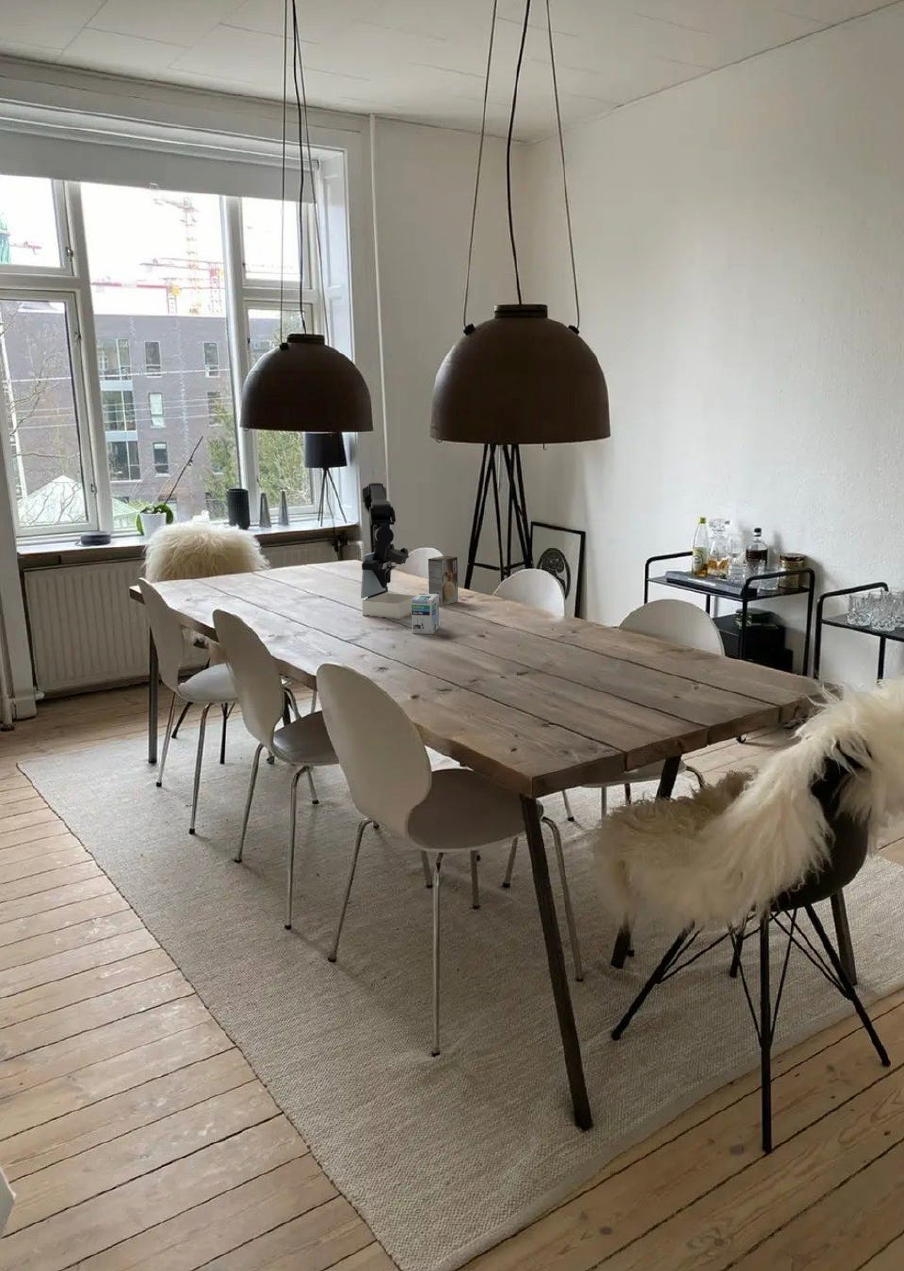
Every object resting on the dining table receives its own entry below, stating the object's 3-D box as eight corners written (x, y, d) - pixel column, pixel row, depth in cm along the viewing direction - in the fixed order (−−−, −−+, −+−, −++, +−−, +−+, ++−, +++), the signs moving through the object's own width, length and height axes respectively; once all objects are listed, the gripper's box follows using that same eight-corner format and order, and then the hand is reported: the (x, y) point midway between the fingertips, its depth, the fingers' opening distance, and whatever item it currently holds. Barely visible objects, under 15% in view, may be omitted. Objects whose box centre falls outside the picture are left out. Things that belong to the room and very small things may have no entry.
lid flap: (362, 598, 327) (360, 598, 327) (385, 590, 340) (383, 590, 340) (365, 555, 323) (363, 555, 323) (388, 549, 336) (386, 548, 336)
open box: (362, 615, 327) (362, 600, 326) (386, 606, 341) (386, 592, 340) (399, 619, 321) (399, 604, 320) (422, 609, 335) (422, 595, 334)
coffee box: (444, 599, 353) (443, 555, 349) (458, 601, 349) (458, 556, 345) (428, 603, 346) (427, 558, 342) (442, 606, 342) (442, 560, 338)
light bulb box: (432, 634, 301) (432, 600, 298) (411, 633, 302) (410, 599, 299) (440, 626, 311) (439, 593, 308) (419, 626, 312) (418, 592, 310)
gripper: (389, 545, 316) (391, 593, 319) (416, 538, 332) (418, 584, 335) (359, 544, 320) (362, 591, 324) (387, 538, 337) (389, 583, 340)
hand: (384, 587), depth 331 cm, fingers closed, pressing on lid flap
